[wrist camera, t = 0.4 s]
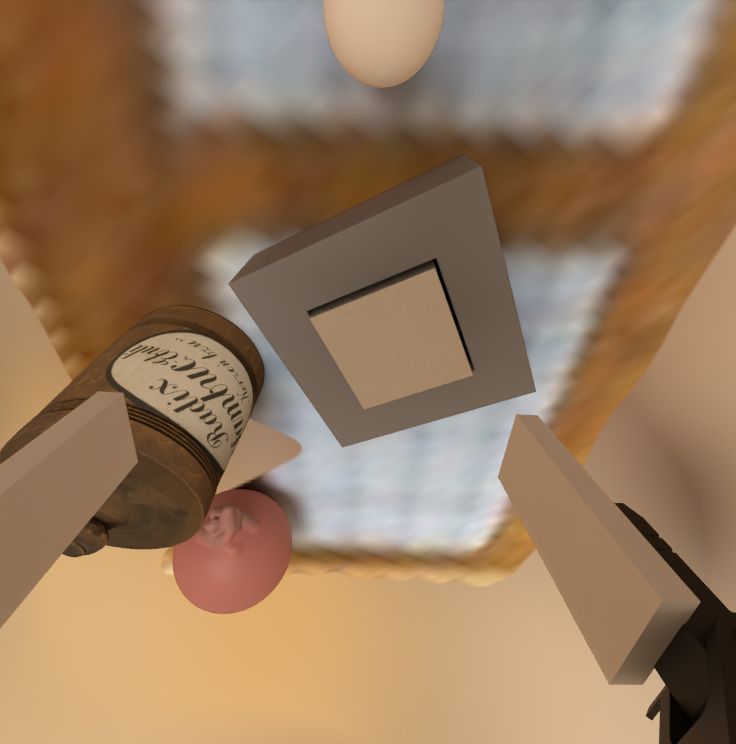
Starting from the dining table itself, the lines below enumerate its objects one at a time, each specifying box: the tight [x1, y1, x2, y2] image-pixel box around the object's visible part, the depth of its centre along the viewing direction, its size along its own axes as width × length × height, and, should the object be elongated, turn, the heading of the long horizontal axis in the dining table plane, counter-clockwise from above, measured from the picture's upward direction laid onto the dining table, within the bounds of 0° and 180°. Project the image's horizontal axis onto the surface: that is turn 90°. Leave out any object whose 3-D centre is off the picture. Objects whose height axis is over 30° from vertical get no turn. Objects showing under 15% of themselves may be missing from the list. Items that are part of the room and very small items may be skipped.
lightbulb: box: [323, 0, 444, 88], centre depth 21 cm, size 6×6×11 cm
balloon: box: [173, 489, 292, 614], centre depth 50 cm, size 15×20×15 cm
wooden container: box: [0, 306, 264, 557], centre depth 33 cm, size 15×15×22 cm
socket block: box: [229, 154, 536, 447], centre depth 34 cm, size 20×20×7 cm
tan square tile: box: [310, 259, 473, 409], centre depth 32 cm, size 10×10×3 cm
